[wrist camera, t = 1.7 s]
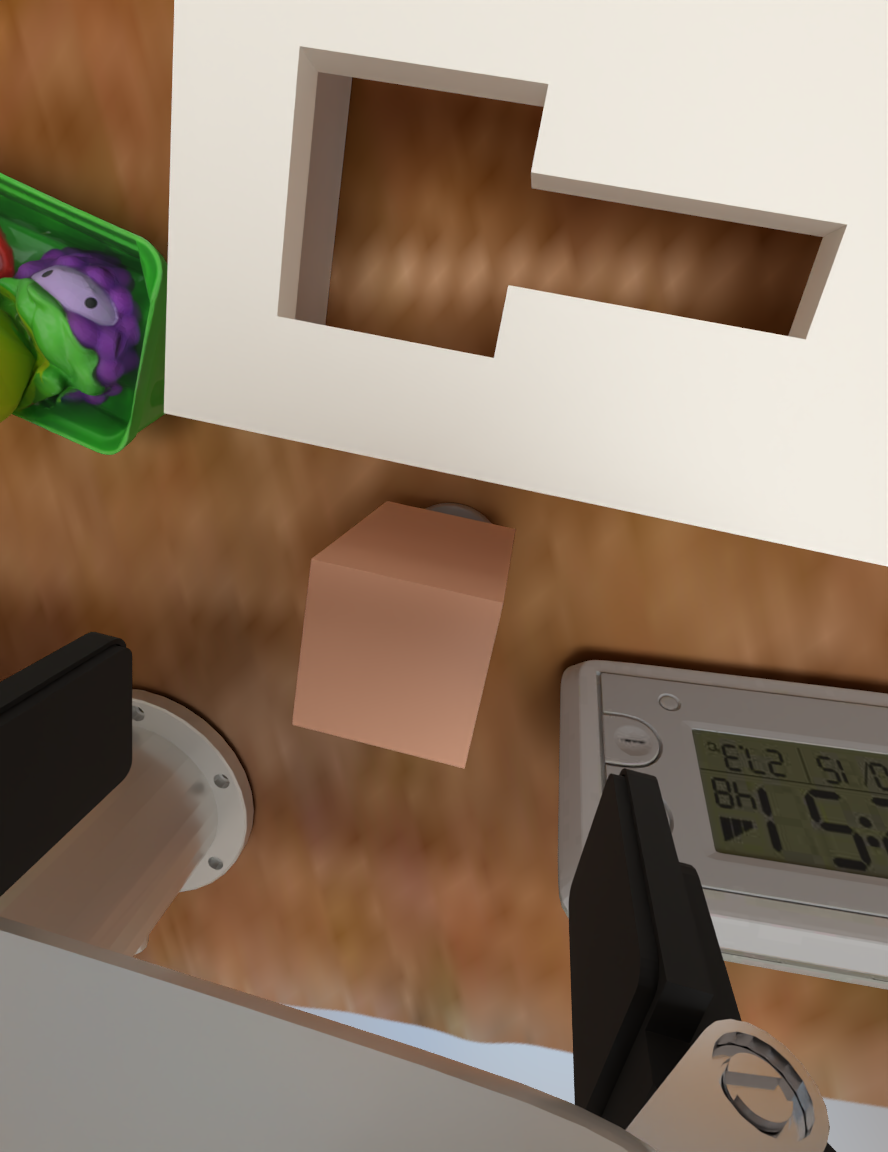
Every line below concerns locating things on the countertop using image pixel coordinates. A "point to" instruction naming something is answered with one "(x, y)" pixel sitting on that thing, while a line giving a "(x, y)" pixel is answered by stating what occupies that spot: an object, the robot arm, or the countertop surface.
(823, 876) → the digital clock
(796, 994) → the countertop surface
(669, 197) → the keyhole board
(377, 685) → the peg
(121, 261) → the fruit basket
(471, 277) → the countertop surface
